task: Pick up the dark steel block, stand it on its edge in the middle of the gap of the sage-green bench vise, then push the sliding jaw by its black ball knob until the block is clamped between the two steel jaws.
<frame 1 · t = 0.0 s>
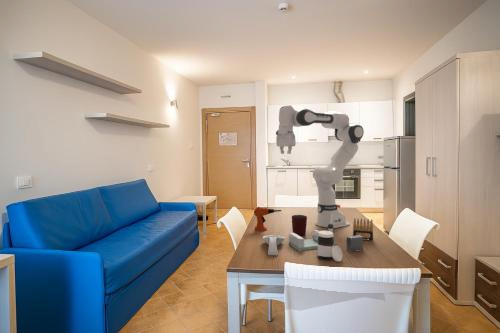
hand: (285, 153, 182), 48 cm above the table, tool pointing down, fingers open, 8 cm apart
ammunition clip: (362, 239, 163), on the table
spread jar: (329, 258, 135), on the table
toy drill: (267, 231, 181), on the table
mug: (298, 234, 173), on the table
sliding jaw: (325, 232, 156), point 6 cm above the table, slide at 0.0 cm
spoon rest: (273, 248, 150), on the table
steel block: (354, 250, 145), on the table
vise: (312, 245, 153), on the table
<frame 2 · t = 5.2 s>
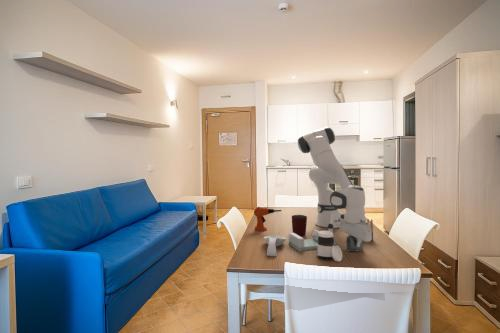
hand: (354, 245, 145), 3 cm above the table, tool pointing down, fingers closed on steel block, 3 cm apart
steel block: (354, 250, 145), on the table, touching gripper
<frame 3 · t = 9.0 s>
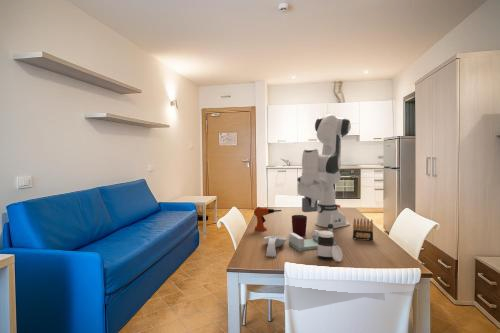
hand: (309, 206, 151), 21 cm above the table, tool pointing down, fingers closed on steel block, 3 cm apart
steel block: (309, 211, 151), point 18 cm above the table, touching gripper
when the fingers open (5 cm above the table, at t = 12.4 s): steel block stays where it is, resting on vise.
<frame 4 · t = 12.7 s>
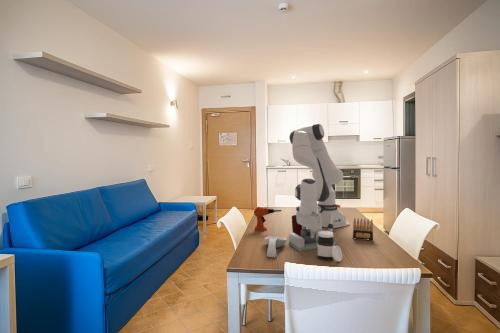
hand: (308, 236, 152), 5 cm above the table, tool pointing down, fingers open, 5 cm apart
steel block: (308, 242, 153), point 1 cm above the table, touching vise
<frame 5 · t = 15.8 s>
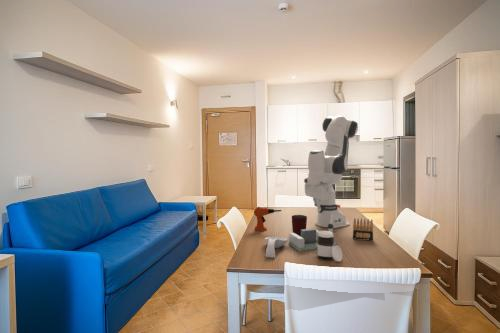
hand: (317, 206, 154), 20 cm above the table, tool pointing down, fingers closed
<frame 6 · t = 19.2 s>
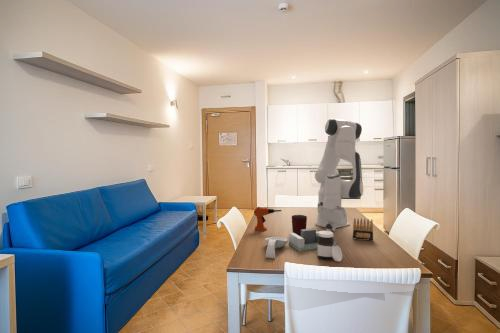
hand: (332, 229, 157), 7 cm above the table, tool pointing down, fingers closed, pressing on sliding jaw
sliding jaw: (323, 232, 155), point 6 cm above the table, slide at 1.2 cm, touching gripper
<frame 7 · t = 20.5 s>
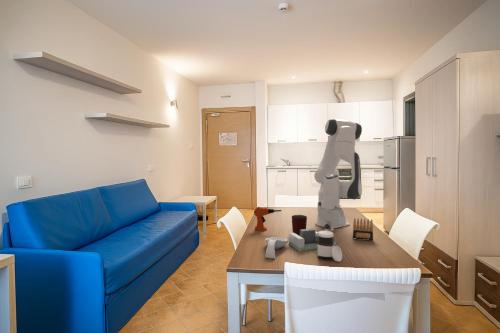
hand: (330, 229, 157), 7 cm above the table, tool pointing down, fingers closed
sliding jaw: (321, 232, 155), point 6 cm above the table, slide at 2.2 cm, touching steel block
steel block: (307, 242, 152), point 1 cm above the table, touching sliding jaw, vise
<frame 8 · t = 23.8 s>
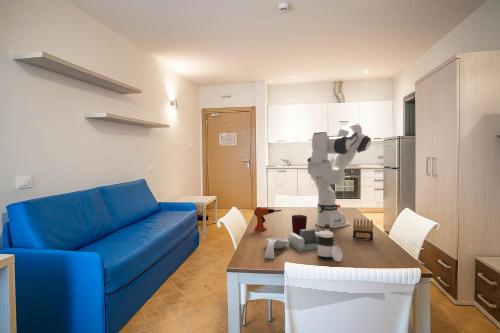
hand: (319, 183, 165), 31 cm above the table, tool pointing down, fingers closed
at the end: steel block 0.5 cm from the target spot on the vise, point 1.5 cm above the vise's base; steel block tilted 0°; steel block touching sliding jaw, vise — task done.
